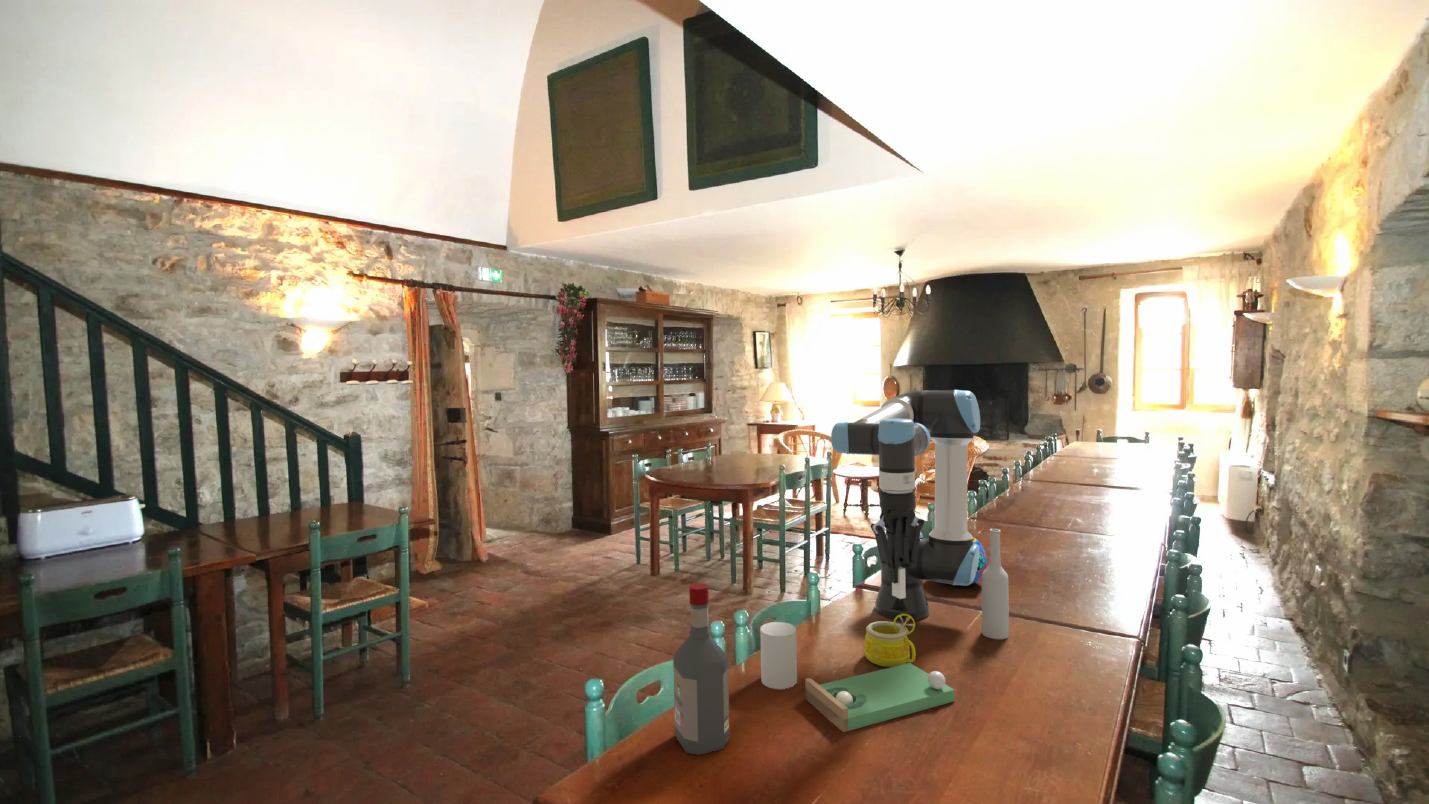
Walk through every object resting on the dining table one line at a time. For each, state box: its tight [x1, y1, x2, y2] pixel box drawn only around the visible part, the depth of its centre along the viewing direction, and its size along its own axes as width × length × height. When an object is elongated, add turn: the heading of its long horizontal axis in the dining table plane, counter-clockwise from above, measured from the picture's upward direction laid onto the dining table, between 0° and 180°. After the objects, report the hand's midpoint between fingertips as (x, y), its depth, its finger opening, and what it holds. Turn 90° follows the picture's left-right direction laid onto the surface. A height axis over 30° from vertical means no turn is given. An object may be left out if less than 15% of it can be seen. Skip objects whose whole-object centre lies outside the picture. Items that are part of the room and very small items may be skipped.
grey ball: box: [928, 670, 946, 689], centre depth 135 cm, size 4×4×4 cm
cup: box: [759, 621, 798, 690], centre depth 145 cm, size 8×8×12 cm
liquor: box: [672, 582, 730, 756], centre depth 121 cm, size 9×9×30 cm
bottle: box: [981, 528, 1010, 640], centre depth 168 cm, size 7×7×28 cm
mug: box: [863, 614, 917, 668], centre depth 154 cm, size 13×11×12 cm
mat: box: [804, 662, 955, 733], centre depth 136 cm, size 14×28×4 cm, turn 113°
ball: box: [836, 691, 853, 704], centre depth 132 cm, size 4×4×4 cm
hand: (898, 596), depth 139 cm, fingers closed
